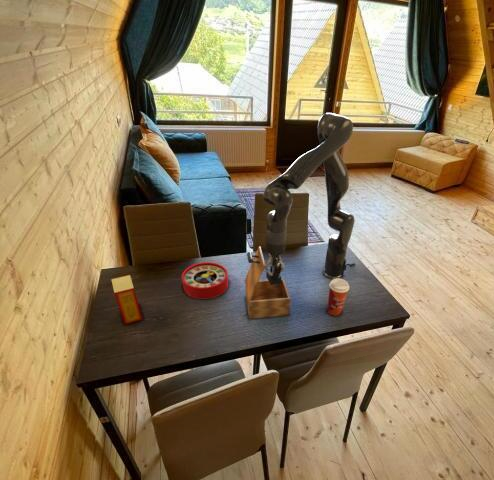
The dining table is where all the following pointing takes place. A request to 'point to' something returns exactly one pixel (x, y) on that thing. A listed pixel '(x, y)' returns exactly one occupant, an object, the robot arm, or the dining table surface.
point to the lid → (254, 271)
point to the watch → (270, 274)
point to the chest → (269, 300)
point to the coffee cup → (337, 296)
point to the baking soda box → (126, 299)
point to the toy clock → (205, 280)
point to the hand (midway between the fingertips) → (274, 275)
